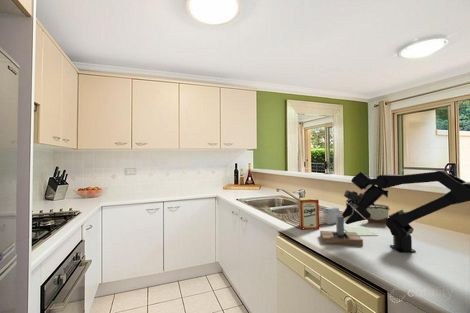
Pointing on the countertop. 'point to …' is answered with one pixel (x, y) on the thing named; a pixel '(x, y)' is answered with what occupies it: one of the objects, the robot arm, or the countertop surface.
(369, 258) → the countertop surface
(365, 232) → the sage mat
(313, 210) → the baking soda box
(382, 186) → the robot arm
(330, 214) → the medicine box
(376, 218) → the food container
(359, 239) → the brown rectangular frame
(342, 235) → the lever cap
